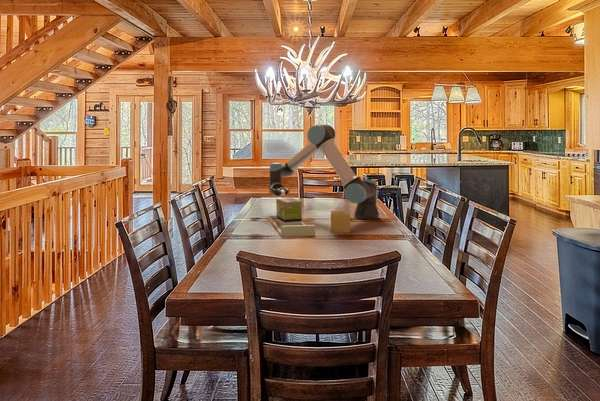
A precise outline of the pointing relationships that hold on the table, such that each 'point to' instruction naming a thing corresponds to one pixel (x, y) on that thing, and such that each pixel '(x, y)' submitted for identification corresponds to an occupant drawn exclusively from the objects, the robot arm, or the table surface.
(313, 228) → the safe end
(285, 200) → the tea box
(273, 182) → the robot arm
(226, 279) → the table surface
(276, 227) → the track rails
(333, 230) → the cheese
